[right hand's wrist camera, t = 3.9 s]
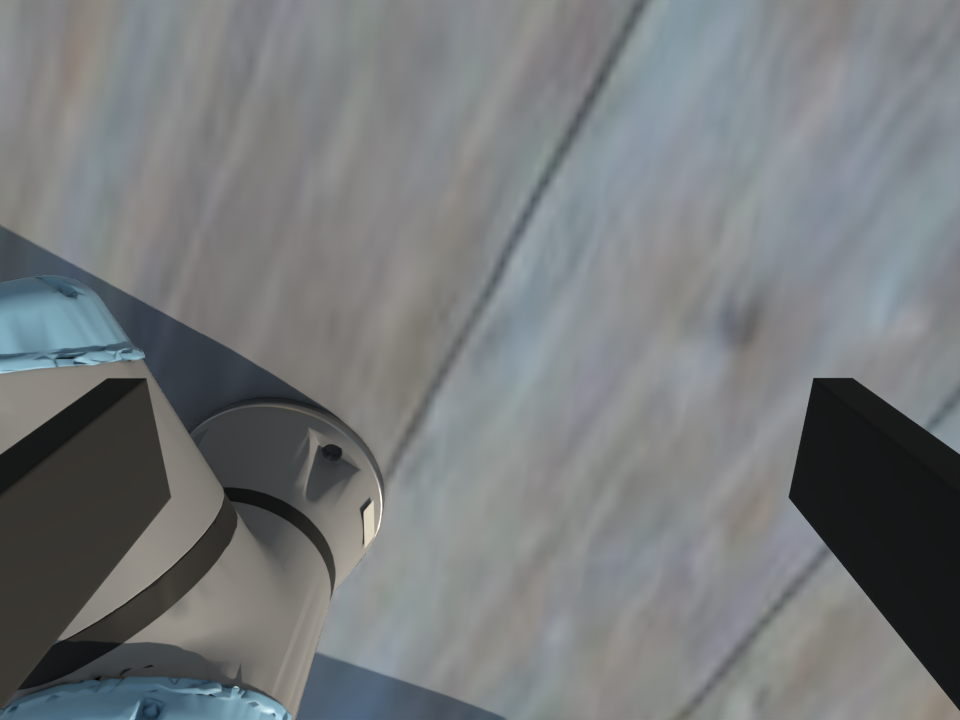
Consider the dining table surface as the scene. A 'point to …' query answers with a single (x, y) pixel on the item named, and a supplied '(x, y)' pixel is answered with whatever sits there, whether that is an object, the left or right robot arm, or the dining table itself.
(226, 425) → the right robot arm
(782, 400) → the dining table surface
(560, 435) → the dining table surface
